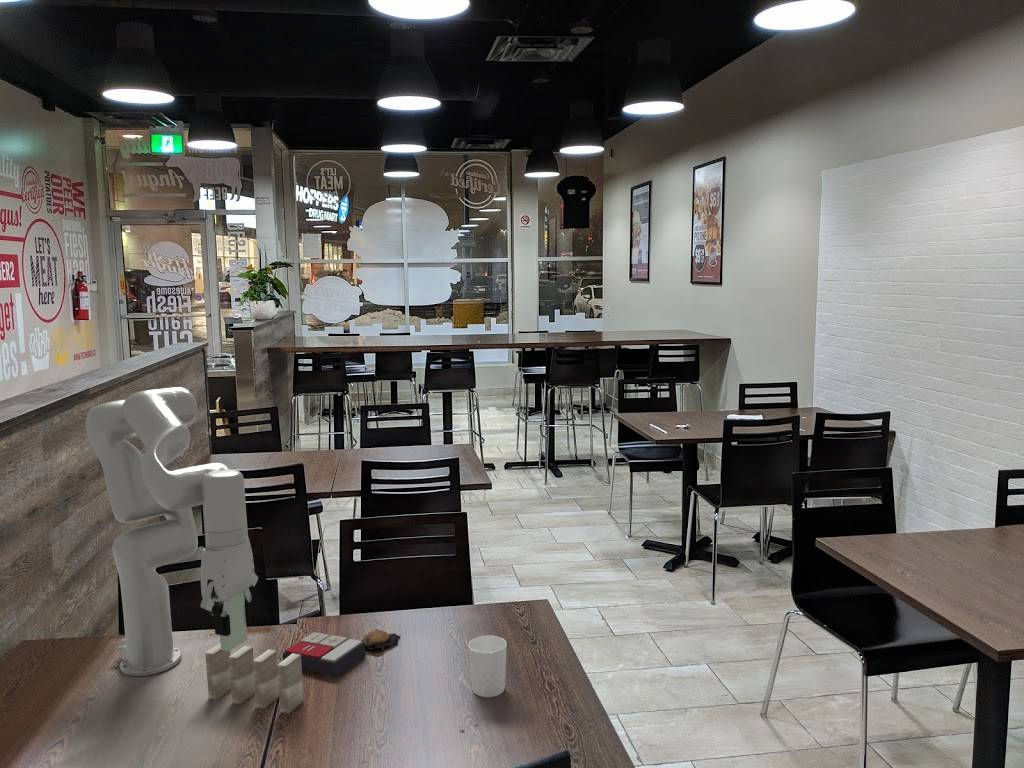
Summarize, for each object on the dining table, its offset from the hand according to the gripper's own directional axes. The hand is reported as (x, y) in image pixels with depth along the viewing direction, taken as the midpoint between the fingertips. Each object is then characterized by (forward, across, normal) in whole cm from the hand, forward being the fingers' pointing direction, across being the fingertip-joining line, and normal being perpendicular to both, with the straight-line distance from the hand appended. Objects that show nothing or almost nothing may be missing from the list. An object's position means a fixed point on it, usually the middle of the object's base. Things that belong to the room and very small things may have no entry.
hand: (233, 627), depth 148 cm
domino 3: (+20, -8, -6) cm, 22 cm away
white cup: (+20, -27, +41) cm, 53 cm away
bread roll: (+20, -38, +9) cm, 44 cm away
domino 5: (+20, -9, +6) cm, 22 cm away
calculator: (+20, -28, +1) cm, 34 cm away
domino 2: (+4, 0, 0) cm, 4 cm away
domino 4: (+20, -8, 0) cm, 21 cm away
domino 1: (+20, -8, -12) cm, 24 cm away
